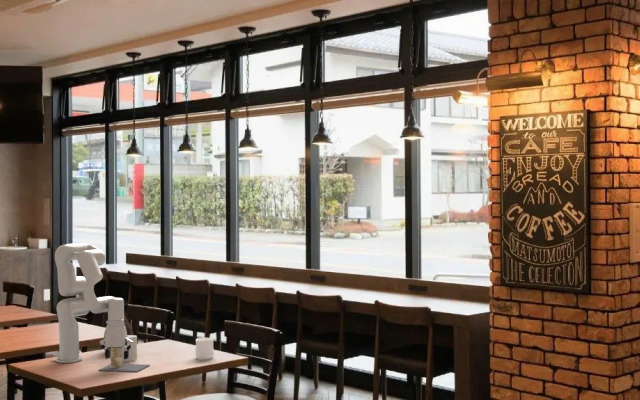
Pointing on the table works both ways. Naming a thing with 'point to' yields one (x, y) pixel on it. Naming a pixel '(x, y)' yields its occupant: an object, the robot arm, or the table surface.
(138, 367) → the mat
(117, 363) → the block
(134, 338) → the cup
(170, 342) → the table surface
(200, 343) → the cup
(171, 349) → the table surface
